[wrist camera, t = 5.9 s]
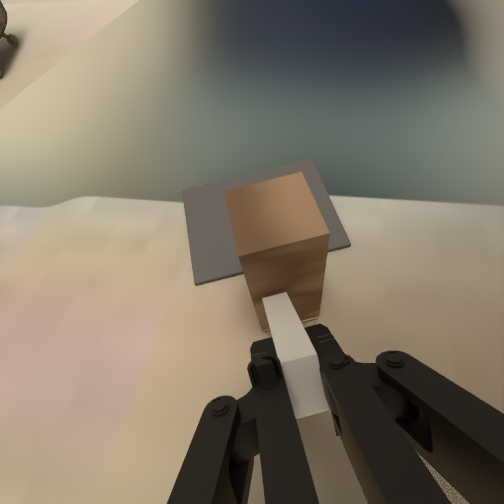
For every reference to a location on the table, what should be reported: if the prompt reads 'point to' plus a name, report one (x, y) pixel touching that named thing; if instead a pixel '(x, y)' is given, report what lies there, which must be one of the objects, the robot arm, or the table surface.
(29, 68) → the table surface
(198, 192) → the rubber mat
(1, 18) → the tabletop clock
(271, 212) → the walnut block
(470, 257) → the table surface
